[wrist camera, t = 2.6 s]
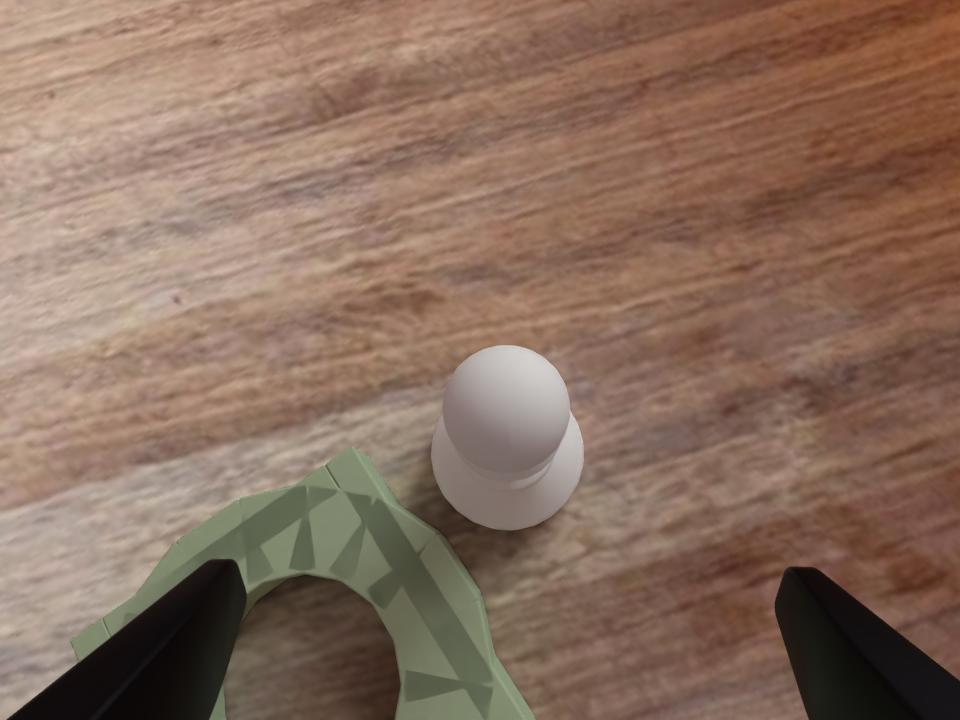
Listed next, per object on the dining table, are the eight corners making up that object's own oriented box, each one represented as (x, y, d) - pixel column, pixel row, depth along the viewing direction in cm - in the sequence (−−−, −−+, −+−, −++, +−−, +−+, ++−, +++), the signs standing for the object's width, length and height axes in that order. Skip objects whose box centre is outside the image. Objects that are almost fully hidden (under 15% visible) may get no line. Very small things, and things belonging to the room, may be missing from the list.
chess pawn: (432, 394, 20) (377, 290, 12) (568, 381, 20) (612, 268, 12) (440, 536, 19) (383, 535, 10) (588, 524, 19) (653, 513, 10)
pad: (243, 992, 15) (206, 1056, 14) (86, 624, 19) (38, 633, 17) (568, 724, 17) (575, 748, 15) (373, 426, 20) (359, 415, 18)
